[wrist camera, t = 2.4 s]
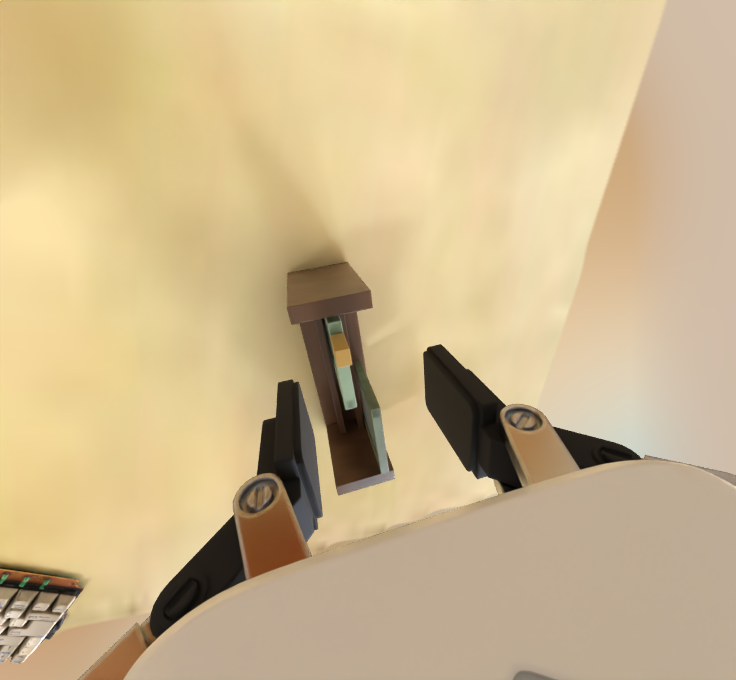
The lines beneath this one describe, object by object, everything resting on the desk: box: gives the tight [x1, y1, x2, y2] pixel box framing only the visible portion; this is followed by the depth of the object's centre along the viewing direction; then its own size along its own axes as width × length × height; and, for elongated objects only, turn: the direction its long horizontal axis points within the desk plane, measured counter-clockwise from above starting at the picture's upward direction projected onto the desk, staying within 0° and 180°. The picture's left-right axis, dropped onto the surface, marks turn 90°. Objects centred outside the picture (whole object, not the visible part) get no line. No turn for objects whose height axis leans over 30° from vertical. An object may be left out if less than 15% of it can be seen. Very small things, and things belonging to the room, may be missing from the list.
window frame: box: [287, 262, 395, 495], centre depth 35 cm, size 7×24×12 cm, turn 7°
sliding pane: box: [324, 315, 357, 410], centre depth 31 cm, size 1×10×13 cm, turn 7°
